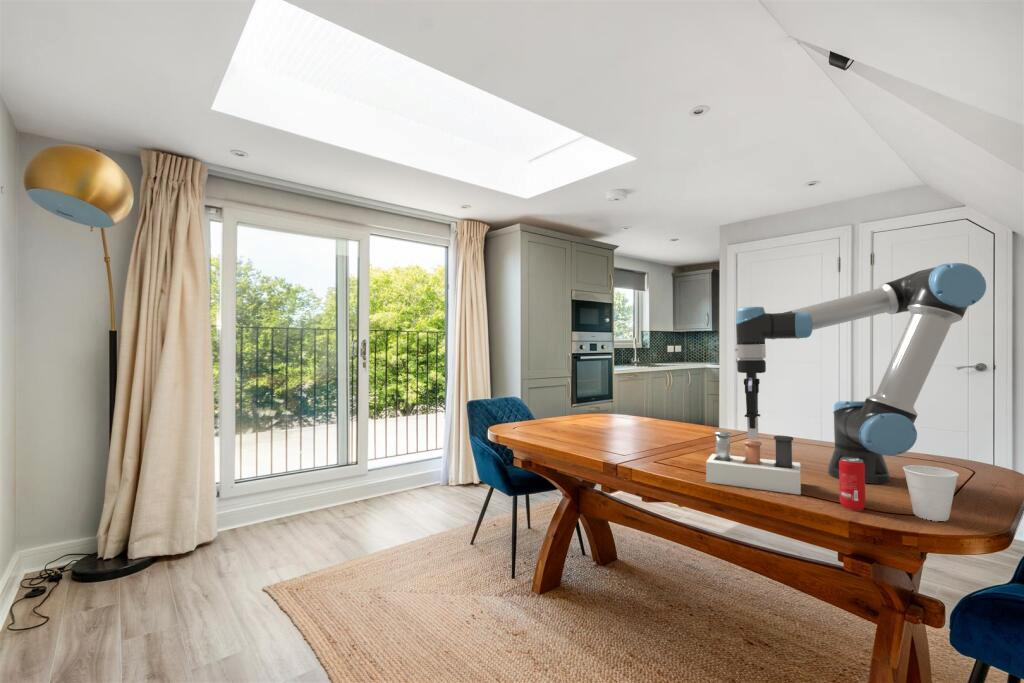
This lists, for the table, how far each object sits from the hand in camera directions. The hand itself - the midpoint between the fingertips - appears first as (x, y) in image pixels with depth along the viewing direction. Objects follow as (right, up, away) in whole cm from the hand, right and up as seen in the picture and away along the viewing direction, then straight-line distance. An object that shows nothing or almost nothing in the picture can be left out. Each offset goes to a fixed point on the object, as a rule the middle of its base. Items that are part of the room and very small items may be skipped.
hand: (753, 438), depth 138 cm
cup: (+27, -13, -28) cm, 41 cm away
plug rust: (0, -11, 0) cm, 11 cm away
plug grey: (-7, -9, +4) cm, 12 cm away
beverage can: (+14, -13, -21) cm, 29 cm away
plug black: (+7, -8, -4) cm, 11 cm away
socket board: (0, -13, 0) cm, 13 cm away
